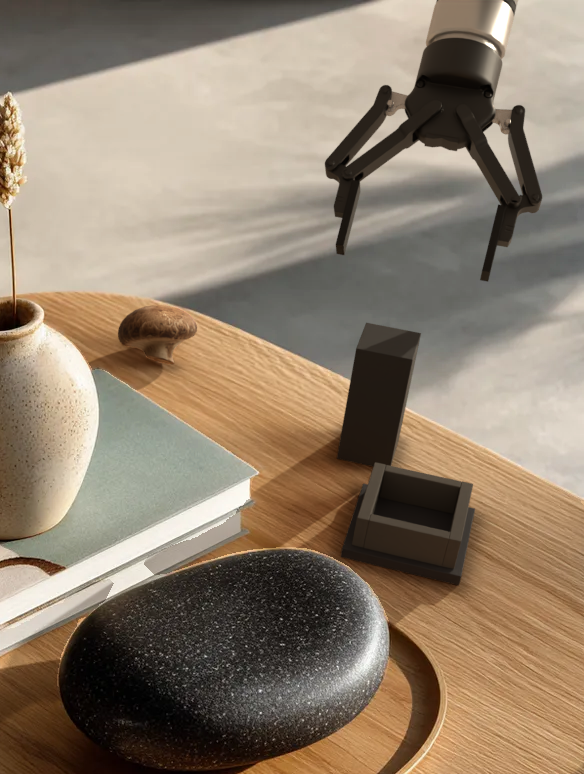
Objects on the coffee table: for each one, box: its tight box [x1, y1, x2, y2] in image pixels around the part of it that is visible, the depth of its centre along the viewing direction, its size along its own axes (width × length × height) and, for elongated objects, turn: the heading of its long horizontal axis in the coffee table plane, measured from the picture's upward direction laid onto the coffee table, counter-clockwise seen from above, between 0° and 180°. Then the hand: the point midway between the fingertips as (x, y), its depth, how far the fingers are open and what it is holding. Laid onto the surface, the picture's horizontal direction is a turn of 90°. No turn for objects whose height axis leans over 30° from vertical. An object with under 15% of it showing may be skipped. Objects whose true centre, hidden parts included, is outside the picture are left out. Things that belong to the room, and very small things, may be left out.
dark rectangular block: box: [336, 322, 422, 468], centre depth 123 cm, size 5×5×12 cm
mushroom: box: [117, 304, 198, 365], centre depth 137 cm, size 8×8×6 cm
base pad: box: [340, 462, 476, 586], centre depth 115 cm, size 10×10×4 cm
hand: (411, 263), depth 125 cm, fingers open, 13 cm apart
